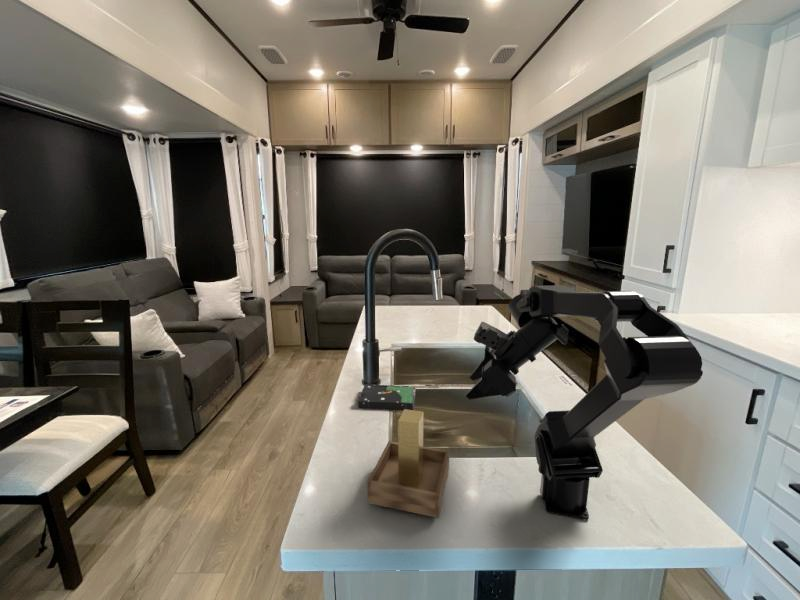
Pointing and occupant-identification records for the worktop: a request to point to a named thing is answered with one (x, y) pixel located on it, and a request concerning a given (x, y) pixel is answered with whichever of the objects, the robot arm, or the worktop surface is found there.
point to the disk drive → (387, 397)
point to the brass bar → (410, 447)
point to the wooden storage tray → (406, 497)
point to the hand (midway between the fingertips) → (469, 387)
